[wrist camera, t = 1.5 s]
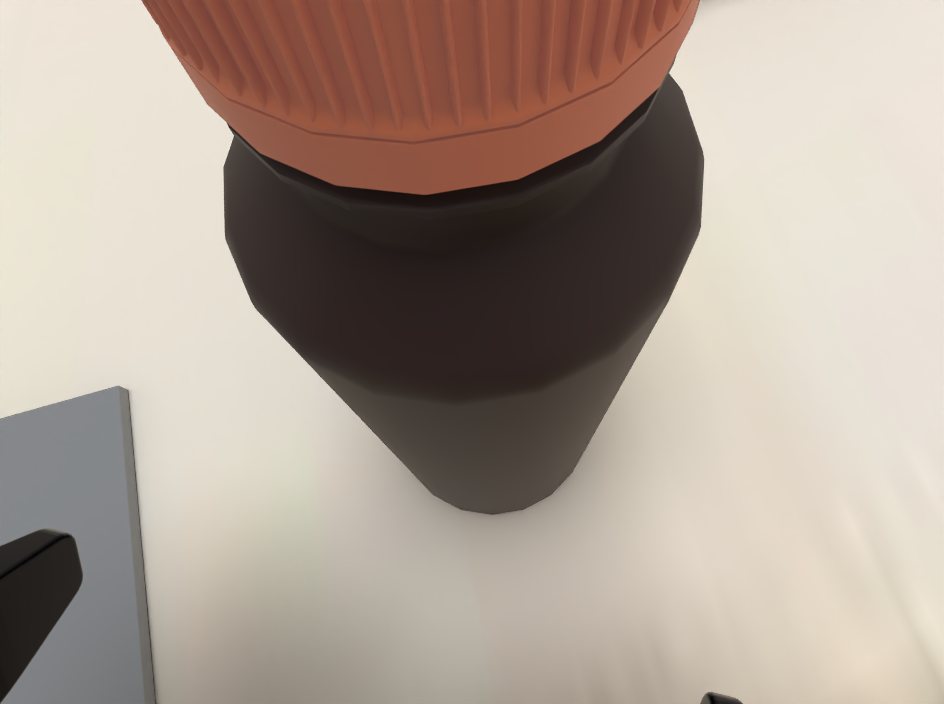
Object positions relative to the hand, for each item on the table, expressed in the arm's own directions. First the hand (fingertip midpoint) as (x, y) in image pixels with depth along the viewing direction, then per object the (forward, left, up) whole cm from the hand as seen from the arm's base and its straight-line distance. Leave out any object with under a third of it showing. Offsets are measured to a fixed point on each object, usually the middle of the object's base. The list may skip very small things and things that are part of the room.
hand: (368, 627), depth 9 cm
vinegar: (+5, -3, -13) cm, 15 cm away
